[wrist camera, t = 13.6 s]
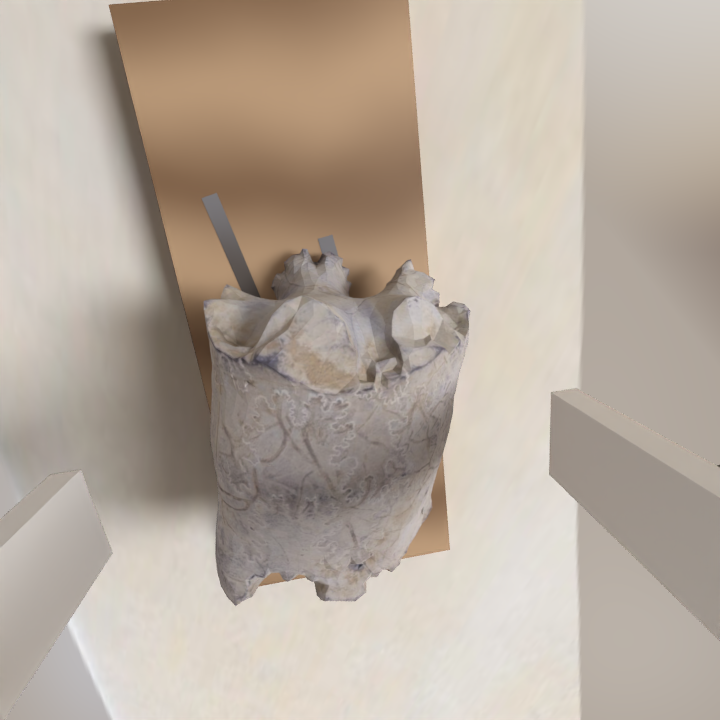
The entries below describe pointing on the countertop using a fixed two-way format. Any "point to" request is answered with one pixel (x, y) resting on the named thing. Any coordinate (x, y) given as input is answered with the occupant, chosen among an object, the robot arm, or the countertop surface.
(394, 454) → the stone
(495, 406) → the countertop surface
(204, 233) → the board
